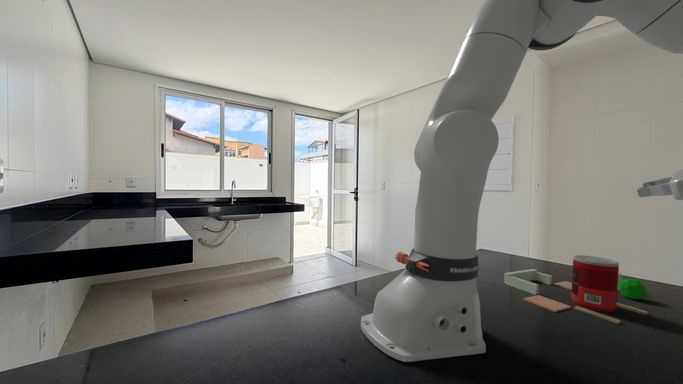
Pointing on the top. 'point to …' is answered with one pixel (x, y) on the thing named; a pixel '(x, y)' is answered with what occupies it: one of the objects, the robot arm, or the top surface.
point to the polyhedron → (632, 289)
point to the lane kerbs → (610, 317)
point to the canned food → (595, 283)
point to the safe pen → (526, 280)
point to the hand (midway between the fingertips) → (641, 189)
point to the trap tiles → (548, 302)
